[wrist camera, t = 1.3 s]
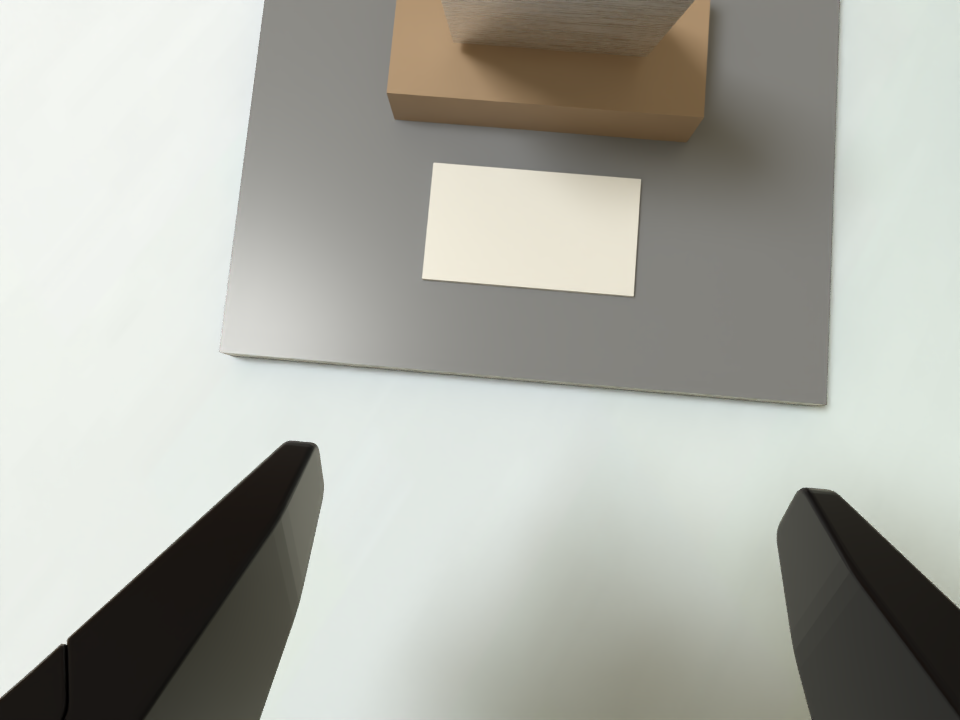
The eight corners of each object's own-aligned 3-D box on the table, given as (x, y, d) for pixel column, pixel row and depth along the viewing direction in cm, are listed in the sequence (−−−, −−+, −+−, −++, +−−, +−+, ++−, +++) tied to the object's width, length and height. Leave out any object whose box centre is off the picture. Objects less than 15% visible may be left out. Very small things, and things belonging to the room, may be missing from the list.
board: (811, 405, 22) (857, 402, 20) (230, 355, 23) (194, 345, 20) (828, -82, 24) (872, -148, 21) (291, -120, 25) (266, -190, 22)
